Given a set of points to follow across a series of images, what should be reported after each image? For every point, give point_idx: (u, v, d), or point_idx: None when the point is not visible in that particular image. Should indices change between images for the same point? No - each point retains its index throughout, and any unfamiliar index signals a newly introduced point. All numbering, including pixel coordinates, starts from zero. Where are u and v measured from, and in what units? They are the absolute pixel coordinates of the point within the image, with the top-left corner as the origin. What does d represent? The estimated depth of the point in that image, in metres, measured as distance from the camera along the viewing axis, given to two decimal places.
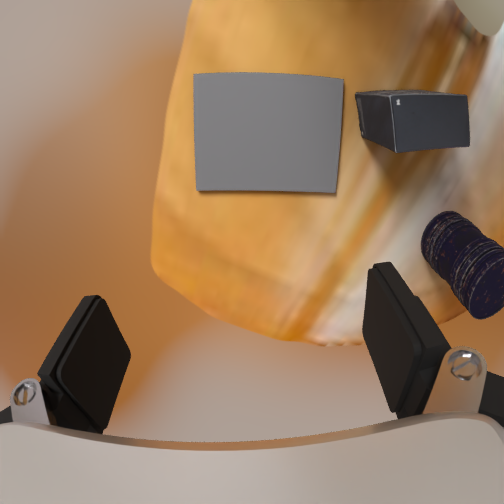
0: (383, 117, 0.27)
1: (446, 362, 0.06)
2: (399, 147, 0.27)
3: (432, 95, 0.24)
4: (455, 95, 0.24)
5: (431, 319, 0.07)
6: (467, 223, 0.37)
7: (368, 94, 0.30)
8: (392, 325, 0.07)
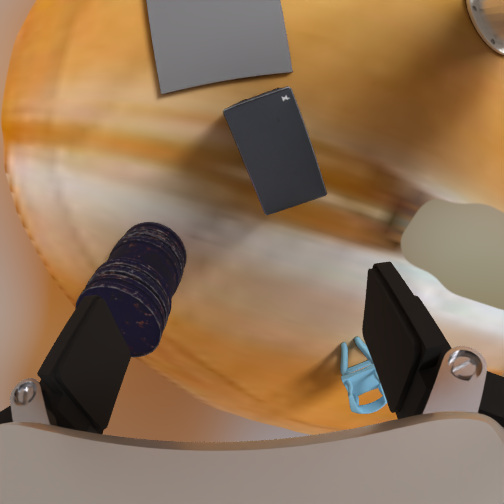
0: (260, 95, 0.25)
1: (446, 362, 0.06)
2: (230, 113, 0.24)
3: (309, 142, 0.25)
4: (320, 176, 0.26)
5: (431, 319, 0.07)
6: (177, 267, 0.37)
7: None
8: (392, 325, 0.07)
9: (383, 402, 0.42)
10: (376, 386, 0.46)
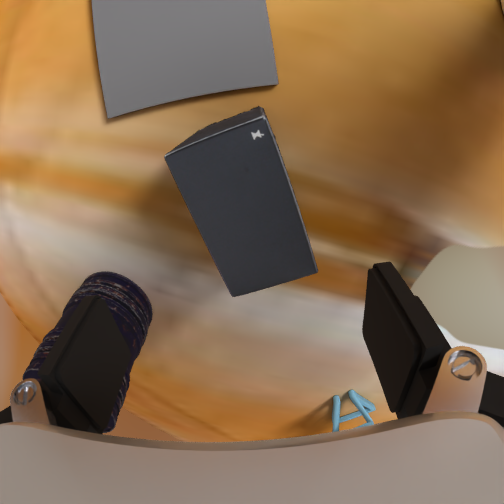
0: (223, 126, 0.17)
1: (446, 362, 0.06)
2: (175, 159, 0.16)
3: (293, 202, 0.17)
4: (309, 249, 0.19)
5: (431, 319, 0.07)
6: (138, 330, 0.30)
7: (261, 111, 0.20)
8: (392, 325, 0.07)
9: None
10: None
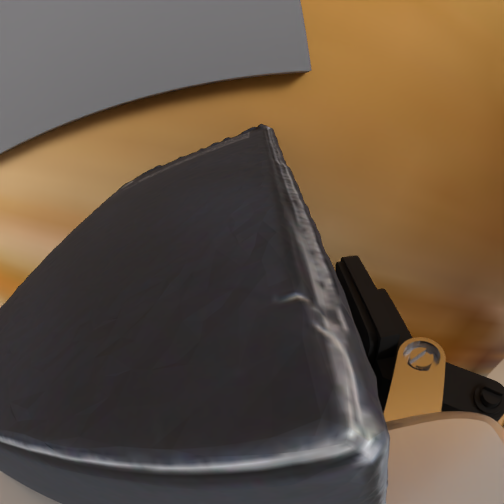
0: (89, 289, 0.03)
1: (402, 352, 0.06)
2: None
3: None
4: None
5: (395, 311, 0.08)
6: None
7: (275, 152, 0.06)
8: (354, 316, 0.08)
9: None
10: None
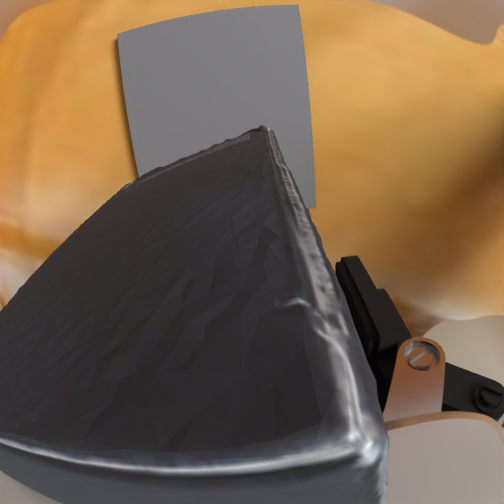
0: (92, 291, 0.03)
1: (402, 352, 0.06)
2: None
3: None
4: None
5: (395, 311, 0.08)
6: None
7: (276, 154, 0.06)
8: (353, 316, 0.08)
9: None
10: None
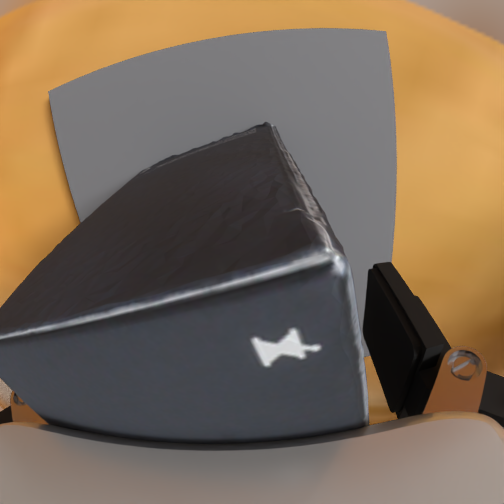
0: (144, 226, 0.05)
1: (446, 362, 0.06)
2: None
3: None
4: None
5: (431, 319, 0.07)
6: None
7: (279, 143, 0.08)
8: (392, 325, 0.07)
9: None
10: None
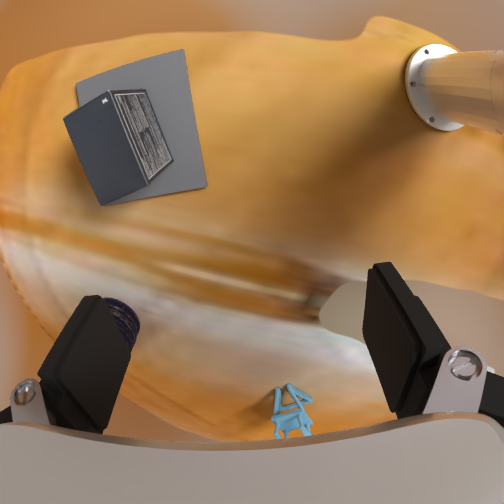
0: None
1: (446, 362, 0.06)
2: (67, 119, 0.24)
3: (126, 138, 0.25)
4: (140, 169, 0.27)
5: (431, 319, 0.07)
6: (130, 336, 0.45)
7: (131, 89, 0.28)
8: (392, 325, 0.07)
9: None
10: (304, 425, 0.55)
